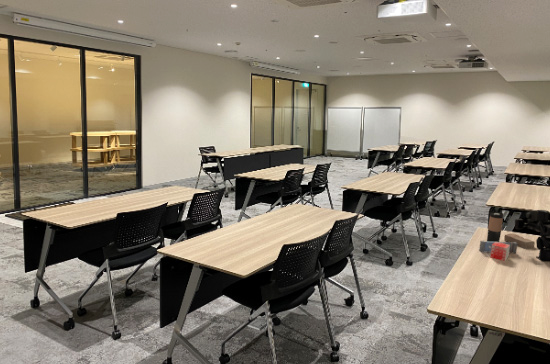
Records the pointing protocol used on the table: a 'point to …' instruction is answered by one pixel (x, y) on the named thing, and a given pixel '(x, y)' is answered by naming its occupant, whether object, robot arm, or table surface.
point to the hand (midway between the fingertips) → (522, 221)
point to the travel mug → (495, 227)
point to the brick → (519, 240)
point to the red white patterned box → (500, 251)
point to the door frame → (482, 243)
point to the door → (489, 244)
